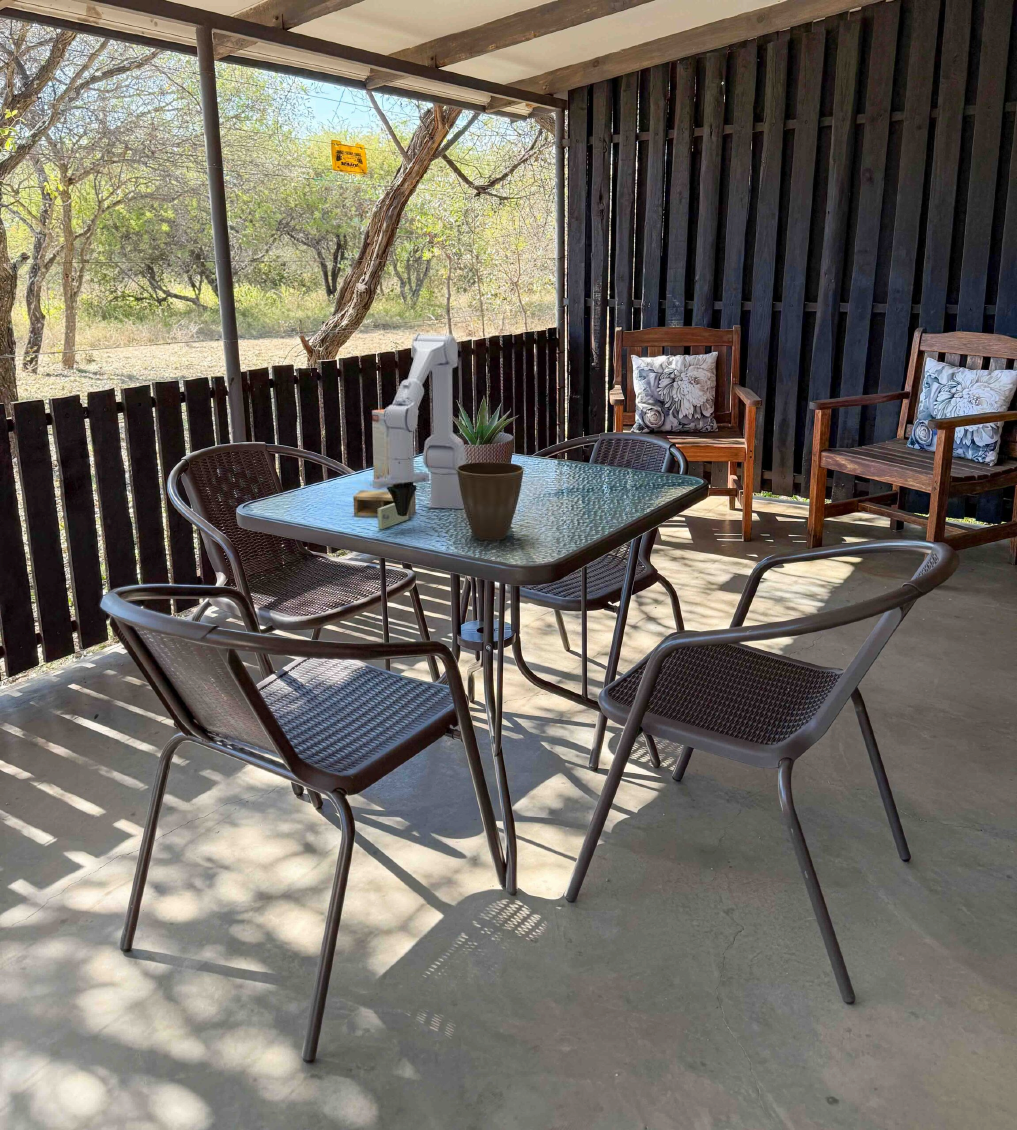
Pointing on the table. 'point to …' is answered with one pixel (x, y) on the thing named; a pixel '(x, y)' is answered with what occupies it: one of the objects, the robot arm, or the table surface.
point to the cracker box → (379, 446)
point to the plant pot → (490, 497)
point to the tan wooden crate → (375, 502)
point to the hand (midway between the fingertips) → (402, 515)
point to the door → (391, 516)
